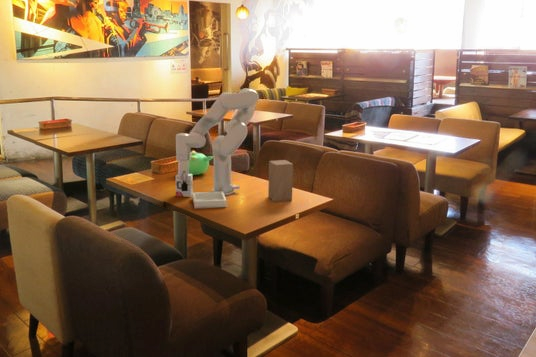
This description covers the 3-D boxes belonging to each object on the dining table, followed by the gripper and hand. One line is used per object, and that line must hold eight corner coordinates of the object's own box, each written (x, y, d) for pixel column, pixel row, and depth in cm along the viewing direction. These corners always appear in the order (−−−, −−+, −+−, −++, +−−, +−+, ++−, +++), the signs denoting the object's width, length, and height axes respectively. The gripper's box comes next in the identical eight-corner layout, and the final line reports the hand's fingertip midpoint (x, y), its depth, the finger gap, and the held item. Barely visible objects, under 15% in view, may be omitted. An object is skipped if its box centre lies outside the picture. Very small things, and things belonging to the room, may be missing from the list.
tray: (222, 197, 269) (222, 191, 268) (226, 206, 254) (226, 200, 253) (192, 199, 265) (192, 192, 265) (194, 208, 250) (194, 201, 249)
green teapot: (200, 169, 327) (200, 147, 324) (214, 175, 315) (214, 152, 311) (176, 173, 316) (175, 151, 313) (189, 179, 304) (189, 155, 300)
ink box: (175, 196, 269) (174, 175, 266) (177, 194, 274) (176, 173, 271) (191, 197, 269) (191, 175, 266) (193, 194, 274) (192, 173, 271)
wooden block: (268, 196, 272) (268, 160, 267) (285, 195, 275) (286, 159, 270) (274, 202, 263) (275, 164, 258) (292, 200, 266) (293, 163, 261)
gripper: (175, 153, 273) (176, 184, 278) (176, 160, 257) (177, 193, 261) (189, 153, 275) (190, 184, 279) (191, 160, 258) (192, 193, 263)
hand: (184, 188), depth 270 cm, fingers open, 7 cm apart
